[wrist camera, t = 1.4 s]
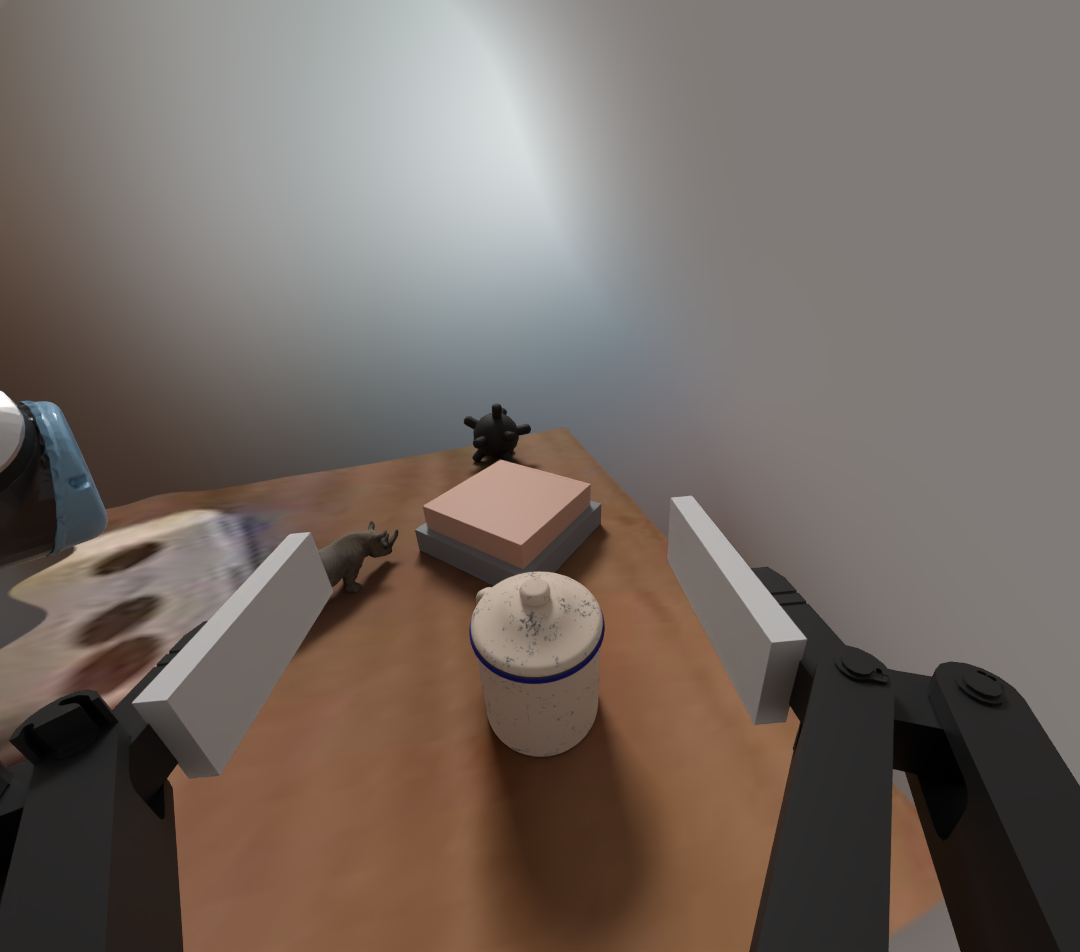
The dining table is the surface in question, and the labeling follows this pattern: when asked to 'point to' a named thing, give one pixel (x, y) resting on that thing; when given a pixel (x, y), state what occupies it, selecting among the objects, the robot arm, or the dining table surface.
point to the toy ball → (495, 434)
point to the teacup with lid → (538, 660)
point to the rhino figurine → (354, 555)
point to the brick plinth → (509, 522)
